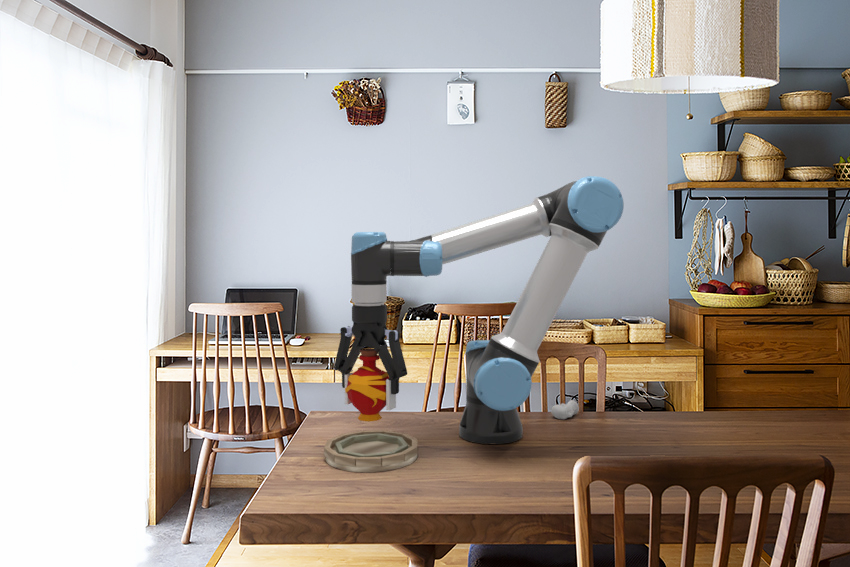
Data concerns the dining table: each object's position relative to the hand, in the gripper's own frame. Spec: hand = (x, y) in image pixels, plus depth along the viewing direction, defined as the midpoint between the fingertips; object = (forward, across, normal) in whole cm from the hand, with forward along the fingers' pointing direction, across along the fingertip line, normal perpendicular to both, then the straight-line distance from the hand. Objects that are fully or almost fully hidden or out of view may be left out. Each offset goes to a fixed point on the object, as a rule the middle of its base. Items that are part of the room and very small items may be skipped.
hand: (370, 405), depth 143 cm
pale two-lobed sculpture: (+11, -29, -50) cm, 59 cm away
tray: (+11, 0, 0) cm, 11 cm away
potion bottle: (+3, 0, 0) cm, 3 cm away
